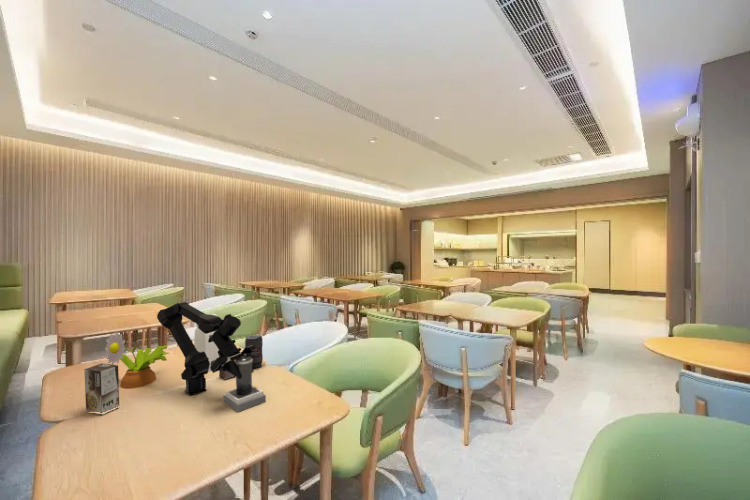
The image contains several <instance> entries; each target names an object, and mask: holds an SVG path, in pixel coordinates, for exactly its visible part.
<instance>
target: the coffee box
mask: <svg viewBox="0 0 750 500" xmlns="http://www.w3.org/2000/svg"><path fill="white" fill-rule="evenodd" d="M119 377H120V376H119V365H118V364H113V365H112V363H111V364H110V363H102V362H101V363H99V364H96V365H92V366H90V367H88V368H84V393H85V395H84V396H85V412H86V413H88V412H100V413H103V412H106V411H108V410H111V409H113V408H116V407H118V406H119V407H120V381H119V379H120V378H119Z"/></svg>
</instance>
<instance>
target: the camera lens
mask: <svg viewBox="0 0 750 500" xmlns="http://www.w3.org/2000/svg"><path fill="white" fill-rule="evenodd" d="M244 340H245V341H244V345H245V346H244V348H245V347H247V346H250V345H254V346H255V347H256V349H257V350H256V351H255V352H254V353H253V354H252V359H253V370H257V369H256V368H258V369H260V368H261V367H262V364H263V359H264V357H263V336H262V335H261V334H260V335H258V334H257V335H249V336H246V337H245V339H244Z"/></svg>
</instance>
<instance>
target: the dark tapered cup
mask: <svg viewBox="0 0 750 500" xmlns="http://www.w3.org/2000/svg"><path fill="white" fill-rule="evenodd" d="M236 365H237V367H238V369H239V371H240V374H241V376H242V378H241V379H239V378H237V377H235V386H236V388H235V389H236V394H237V395H247V394H249V393H251V392H252V385H253V377H252V376H253V373H252V358H251V356H241V357H238V358H236Z"/></svg>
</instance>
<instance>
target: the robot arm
mask: <svg viewBox="0 0 750 500" xmlns="http://www.w3.org/2000/svg"><path fill="white" fill-rule="evenodd" d="M183 317H185V318H186V319H187V320H189V321H191V322H193V323H194V324H196V325H197V327H198V328H199V329H200V330H201V331H202V332H203V333H205V334H207V333H211V332H214V331H215V332H214V333H213V335H210V336H209V340H208V342H209V343H210V342H214V343H215V345H216V346H217V348H218V349H219V350H218V355H219V358H216V360H214V361H211V366H210V362H209V360H208V359H209V358H208V357H207V356H206V353H205V352H204V351H203V352H199V351H197V349H196V348H195V346H194V342H193V341H192V339H191V337H190V335H189V334H188V332H187V330H186V329H185V326H184V325H183ZM156 318H157V321H158V322H159V323H160V325H161V326H162V327H164V328H166V329H168V330H169V332H170V334H171V335H172V337H173V338H174V340H175V342H176V344H177V345H178V347H179V349H180V351H181V353H182V354H183V356H184V358H185V359H184V368H185V369H184V370H183V371H182V372H181V373H180V377H181V379H182V380H183V381H185V390H184V392H185V394H187V395H188V396H194V395H197V394H200V393H202V392H203V391H204V392H207V381H206V380H207V378H206V377H205V375H207V374H208V373H209V372H208V370H209V366H210V369H211V371H210V372H212V373H213V374H215V373H217V372H219V370H220V371H221V372H222V371H227V372H229V373H231V374H233V375H234V376H236V377H237V378H239V379H241V378H242V376H241V374H240V371H239V369H238V367H237V365H236V363H235V361H234V360H236V358H238V357H241V356H251V358H252V354H253V353H254V352H255V351H256V350H257V349H256V347H255V346H254V345H250V346H247V347H245V346H244V348H243V350H242V348H241V347H238V346H237V345H236V344H235V343H236V339H232V337H231V336H233V335H234V334H235V332H237V330H238V329H239V328H240V326H241V325H242V322H241V320H240V318H238V317H237V316H235V315H234V316H233V315H232V314H231V313H230V314H229V313H228V314H225V316H224V317H223V319H222V318H221V317H220V316H218V315H217V316H215V315H211V314H207V313H204V311H203V312H202V311H201V310H199V309H197V308H195V307H194V306H192V305H191V304H189V302H187V301H184V302H178V303H175V304H173V305H171V306H169V307H166V308H164V309H163V308H162V309H160V310H159V311H158V312H157V314H156ZM253 372H254V369H253V366H252V374H253ZM236 377H235V378H236Z"/></svg>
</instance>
